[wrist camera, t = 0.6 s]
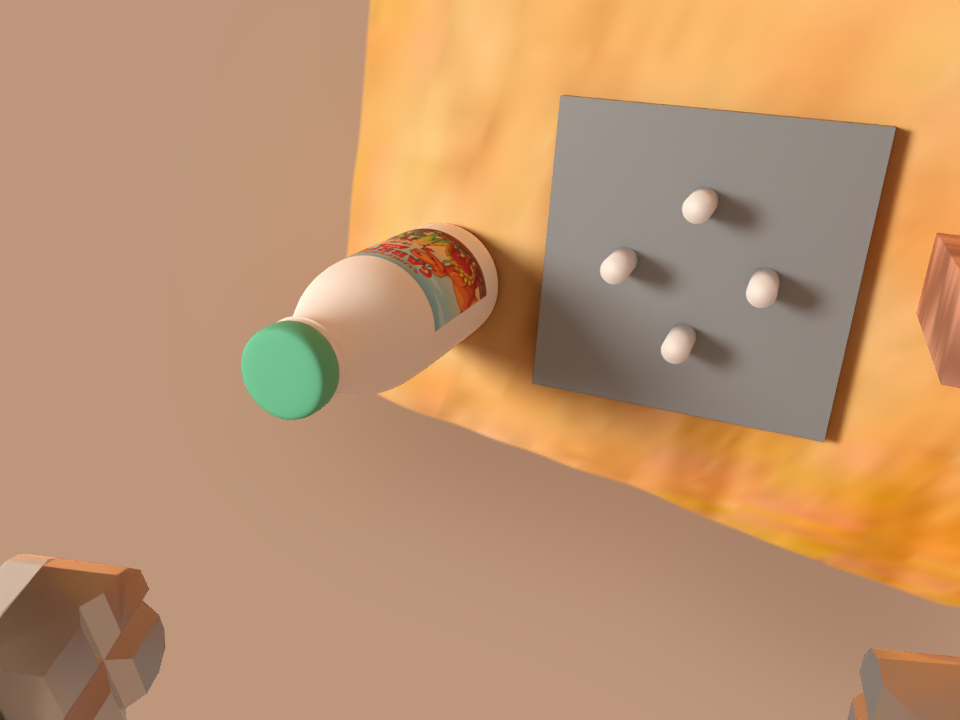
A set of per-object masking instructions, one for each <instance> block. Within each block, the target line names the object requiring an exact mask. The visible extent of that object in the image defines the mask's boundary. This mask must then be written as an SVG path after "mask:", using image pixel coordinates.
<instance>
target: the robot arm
mask: <svg viewBox="0 0 960 720" xmlns="http://www.w3.org/2000/svg"><path fill="white" fill-rule="evenodd" d="M148 590H149V588H148V586H147V583H146V581H145V579H144V577H143V575H142V573H141V570H138V569H132V568H126V567H119V566H112V565H105V564H98V563H90V562H84V561H77V560H70V559H62V558H54V557H46V556H38V555H30V554H22V553H21V554H19V555H17V556H15V557H13V558H11V559H9V560H7V561H5V563H4V564H3V565H2V566H1V567H0V720H126V712H125V708H126V707H128V706H129V705H131V704H132V703H134V702H135V701H137V700H138V699H140V698H141V697H142V696H144V695H145V694H147V692H148V690H149V688H150V687H151V685H152V683H153V681H154V680H155V678H156V676H157V674H158V673H159V669H160V665H161V662H162V658H163V654H164V650H165V635H164V627H163V624H162V622H161V619H160V616H159V614H157V613H156V612H155V611H154V610H153V609H152V608H151V607H149V606H148V605H147V604H146V603H145V602H144V601H143V599H144V597H145V595H146V594H147V592H148ZM860 676H861V681H862V687H863V693H862V694H860V695H858V696H857V697H855V698H853V699H852V703H851V707H850V711H849V716H848V720H960V657H954V656H944V655H934V654H923V653H913V652H902V651H893V650H883V649H873V648H870V649H869V650H868V652H867V653H866V654H865V655H864V658H863V662H862V665H861V669H860Z"/></svg>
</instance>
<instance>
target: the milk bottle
mask: <svg viewBox="0 0 960 720" xmlns="http://www.w3.org/2000/svg"><path fill="white" fill-rule="evenodd" d="M497 294H498V277H497V271H496V267H495V264H494V262H493V260H492V257H491V255H490V254H489V252H488V250H487V249H486V248H485V246H484V245H483V244H482V243H481V242H480V241H479V240H478V239H477V238H476V237H475V236H474V235H473V234H471V233H470V232H468V231H466V230H465V229H463V228H461V227H458V226H455V225H452V224H447V223H431V224H426V225H423V226H420V227H417V228H414V229H412V230H409V231H407V232H405V233H402V234H400V235H397V236H395V237H392V238H390V239H388V240H385V241H383V242H381V243H378V244H376V245H374V246H371V247H369V248H367V249H364V250H362V251H360V252H358V253H355V254H353V255H351V256H349V257H347V258H345V259H343V260H341V261H339V262H337V263H335V264H334V265H332V266H330V267H329V268H328V269H326V270H325V271H324V272H322V273H321V274H320V275H319V276H317V277H316V278H315V280H314V281H313V282H312V283H311V284H310V285H309V286H308V287H307V289H306V290H305V292H304V293H303V295H302V297H301V298H300V300H299V302H298V304H297V307H296V309H295V312H294V315H293V317H287V318H284V319H282V320H280V321H278V322H276V323H274V324H271V325H269V326H267V327H265V328H263V329H262V330H260V331H258V332H257V333H255V334H254V335H253V336H252V338H251V339H250V340H249V341H248V342H247V344H246V346H245V348H244V350H243V353H242V359H241V371H242V377H243V380H244V383H245V386H246V388H247V390H248V392H249V394H250V395H251V397H252V398H253V399H254V401H255V402H256V403H257V404H258V405H259V406H260V407H261V408H262V409H264V410H265V411H266V412H268V413H270V414H271V415H273V416H276V417H278V418H282V419H287V420H296V419H301V418H305V417H308V416H310V415H312V414H313V413H315V412H317V411H318V410H320V409H321V408H322V407H324V406H325V405H326V404H328V403H329V402H331V401H332V400H334V399H335V398H336V397H337V395H338V394H339V393H341V394H347V395H371V394H377V393H381V392H384V391H388V390H390V389H393V388H395V387H397V386H399V385H401V384H403V383H405V382H406V381H408V380H410V379H411V378H413V377H414V376H416V375H417V374H419V373H420V372H422V371H423V370H424V369H426V368H427V367H428V366H430V365H431V364H432V363H434V362H435V361H436V360H438V359H439V358H440V357H442V356H443V355H444V354H446V353H447V352H448V351H450V350H451V349H452V348H453V347H455V346H456V345H457V344H459V343H460V342H461V341H463V340H464V339H465V338H466V337H468V336H469V335H470V334H471V333H473V332H474V331H475V330H476V329H477V328H479V327H480V326H481V325H482V324H483V323H484V322H485V321H486V320H487V318H488V317H489V316H490V314H491V312H492V310H493V308H494V306H495V303H496V299H497Z"/></svg>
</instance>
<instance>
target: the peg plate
mask: <svg viewBox="0 0 960 720" xmlns="http://www.w3.org/2000/svg"><path fill="white" fill-rule="evenodd" d="M895 130H896V127H895V126H887V125H876V124H866V123H855V122H845V121H834V120H823V119H813V118H802V117H792V116H781V115H771V114H760V113H749V112H739V111H728V110H718V109H707V108H697V107H686V106H675V105H665V104H654V103H644V102H633V101H622V100H612V99H601V98H591V97H580V96H570V95H562V96H560V104H559V114H558V125H557V135H556V145H555V156H554V166H553V176H552V187H551V197H550V207H549V218H548V228H547V238H546V248H545V259H544V269H543V279H542V290H541V300H540V310H539V321H538V331H537V341H536V352H535V362H534V372H533V384H538V385H543V386H548V387H553V388H558V389H563V390H568V391H573V392H578V393H583V394H588V395H593V396H598V397H603V398H607V399H612V400H617V401H622V402H627V403H632V404H637V405H642V406H647V407H652V408H657V409H662V410H667V411H672V412H677V413H682V414H687V415H692V416H697V417H702V418H707V419H712V420H717V421H722V422H726V423H731V424H736V425H741V426H746V427H751V428H756V429H761V430H766V431H771V432H776V433H781V434H786V435H791V436H796V437H801V438H806V439H811V440H816V441H821V442H824V440H825V436H826V432H827V427H828V423H829V419H830V414H831V410H832V405H833V401H834V397H835V392H836V388H837V384H838V379H839V375H840V370H841V366H842V362H843V357H844V353H845V349H846V344H847V340H848V335H849V331H850V327H851V322H852V318H853V314H854V309H855V305H856V300H857V296H858V292H859V287H860V283H861V279H862V274H863V270H864V266H865V261H866V257H867V252H868V248H869V244H870V239H871V235H872V231H873V226H874V222H875V217H876V213H877V209H878V204H879V200H880V196H881V191H882V187H883V182H884V178H885V174H886V169H887V165H888V161H889V156H890V152H891V148H892V143H893V139H894V134H895Z"/></svg>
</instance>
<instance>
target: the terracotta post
mask: <svg viewBox="0 0 960 720" xmlns="http://www.w3.org/2000/svg"><path fill="white" fill-rule="evenodd" d="M917 316H918V319H919V322H920V325H921V328H922V331H923V333H924V336H925V339H926V342H927V345H928V348H929V351H930V354H931V357H932V360H933V362H934V365H935V368H936V371H937V374H938V377H939V380H940V383H941V385H946V386H952V387H957V388H960V236H957V235H949V234H942V233H937V234H936V238H935V242H934V246H933V250H932V254H931V258H930V262H929V266H928V270H927V274H926V277H925V281H924V285H923V289H922V293H921V297H920V301H919V305H918V309H917Z"/></svg>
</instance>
